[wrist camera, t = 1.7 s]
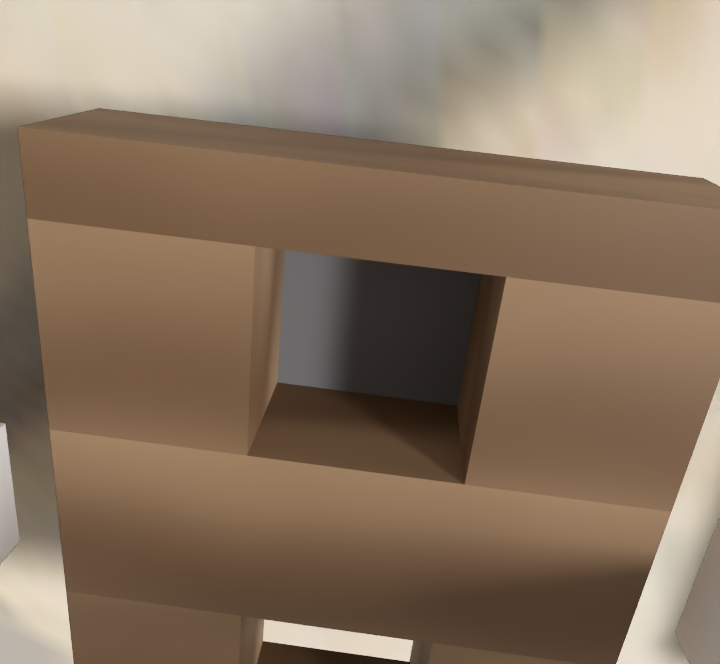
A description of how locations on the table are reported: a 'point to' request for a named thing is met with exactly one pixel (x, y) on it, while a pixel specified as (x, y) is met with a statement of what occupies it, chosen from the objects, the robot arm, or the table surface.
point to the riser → (375, 326)
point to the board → (358, 410)
